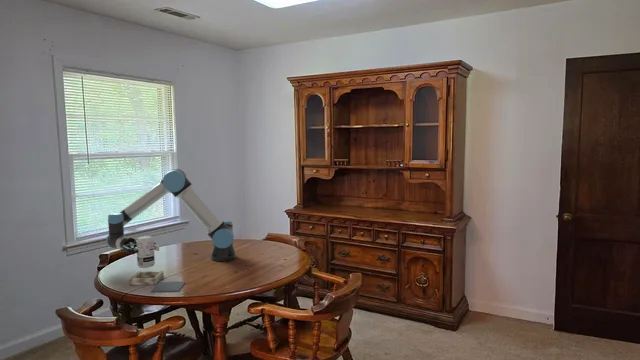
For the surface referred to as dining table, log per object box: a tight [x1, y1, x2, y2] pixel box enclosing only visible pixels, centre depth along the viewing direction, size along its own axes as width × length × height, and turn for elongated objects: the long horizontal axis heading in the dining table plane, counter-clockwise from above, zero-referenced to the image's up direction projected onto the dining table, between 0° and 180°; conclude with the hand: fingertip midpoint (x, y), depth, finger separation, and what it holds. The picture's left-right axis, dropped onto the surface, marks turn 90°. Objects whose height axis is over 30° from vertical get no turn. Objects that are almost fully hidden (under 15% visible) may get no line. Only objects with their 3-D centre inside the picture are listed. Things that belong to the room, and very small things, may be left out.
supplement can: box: [136, 235, 156, 269], centre depth 217 cm, size 8×8×15 cm
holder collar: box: [128, 270, 165, 286], centre depth 218 cm, size 13×13×3 cm
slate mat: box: [150, 281, 186, 293], centre depth 208 cm, size 13×13×1 cm
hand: (150, 250), depth 214 cm, fingers closed on supplement can, 8 cm apart
